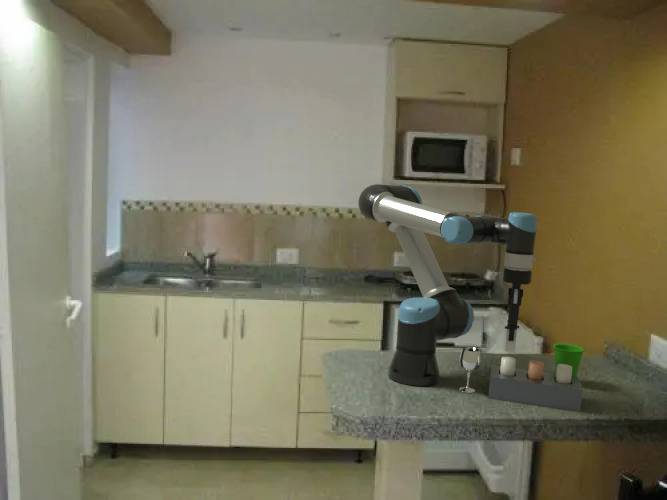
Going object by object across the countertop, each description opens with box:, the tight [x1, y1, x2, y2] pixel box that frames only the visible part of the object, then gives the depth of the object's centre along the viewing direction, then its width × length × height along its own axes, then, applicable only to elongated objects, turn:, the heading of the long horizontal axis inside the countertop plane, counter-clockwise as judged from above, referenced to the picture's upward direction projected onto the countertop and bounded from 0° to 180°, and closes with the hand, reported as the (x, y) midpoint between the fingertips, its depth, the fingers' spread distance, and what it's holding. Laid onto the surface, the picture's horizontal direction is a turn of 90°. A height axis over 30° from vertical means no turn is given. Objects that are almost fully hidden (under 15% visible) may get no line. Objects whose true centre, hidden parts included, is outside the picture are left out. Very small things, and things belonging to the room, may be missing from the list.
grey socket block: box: [488, 364, 584, 412], centre depth 182 cm, size 24×12×6 cm, turn 75°
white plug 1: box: [500, 356, 517, 376], centre depth 183 cm, size 4×4×7 cm
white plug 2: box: [555, 364, 572, 384], centre depth 180 cm, size 4×4×7 cm
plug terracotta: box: [527, 359, 545, 380], centre depth 182 cm, size 4×4×7 cm
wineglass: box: [459, 346, 481, 394], centre depth 184 cm, size 6×6×12 cm
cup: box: [552, 343, 585, 377], centre depth 197 cm, size 9×9×11 cm
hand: (509, 351), depth 183 cm, fingers closed
